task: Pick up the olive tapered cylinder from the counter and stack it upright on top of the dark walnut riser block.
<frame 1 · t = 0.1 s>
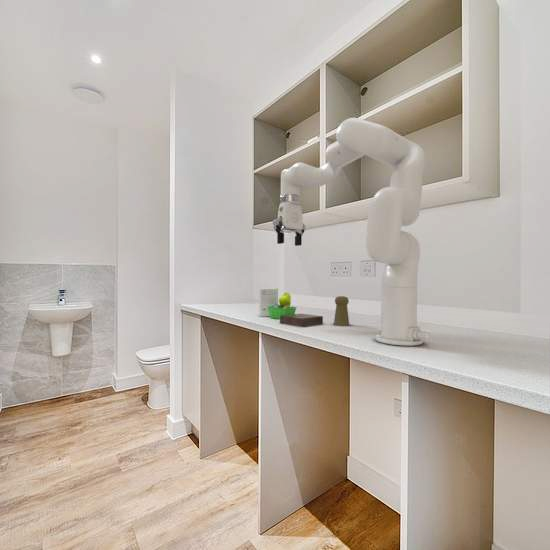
hand: (289, 244, 123), 31 cm above the worktop, tool pointing down, fingers open, 9 cm apart
small box: (268, 316, 147), on the worktop
riser: (301, 323, 123), on the worktop
olive tapered cylinder: (341, 325, 121), on the worktop
fruit basket: (282, 318, 138), on the worktop
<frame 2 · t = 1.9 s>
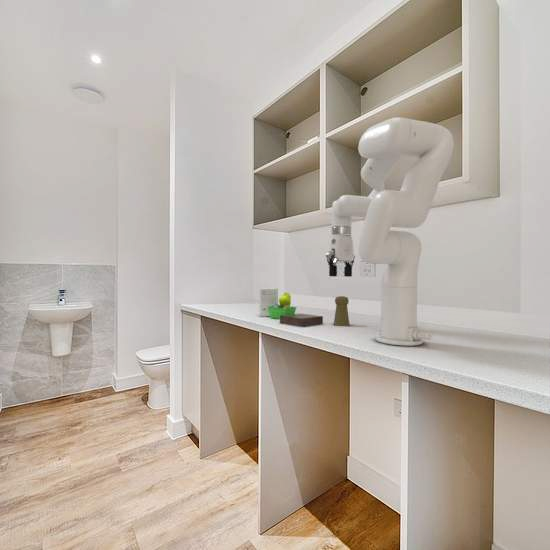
hand: (340, 276, 121), 19 cm above the worktop, tool pointing down, fingers open, 9 cm apart
nothing on the worktop moved.
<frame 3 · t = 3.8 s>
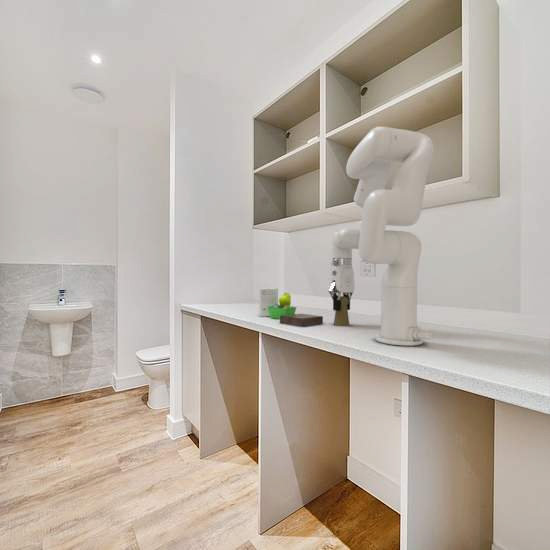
hand: (341, 309, 121), 6 cm above the worktop, tool pointing down, fingers closed on olive tapered cylinder, 5 cm apart
olive tapered cylinder: (341, 325, 121), on the worktop, touching gripper
everything else where it was.
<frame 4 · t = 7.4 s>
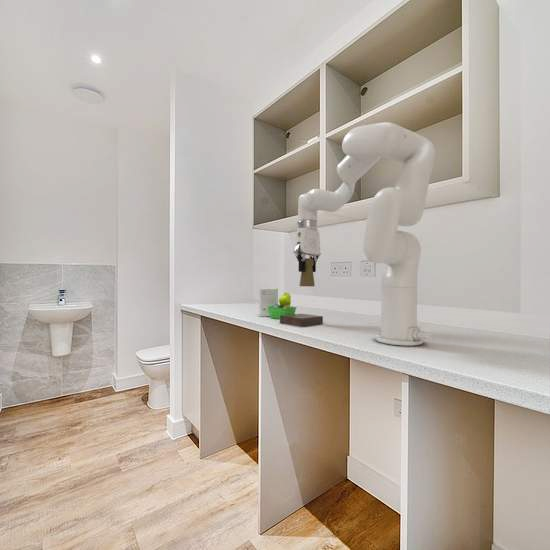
hand: (307, 271, 123), 21 cm above the worktop, tool pointing down, fingers closed on olive tapered cylinder, 5 cm apart
olive tapered cylinder: (307, 286, 123), point 15 cm above the worktop, touching gripper
everything else where it was.
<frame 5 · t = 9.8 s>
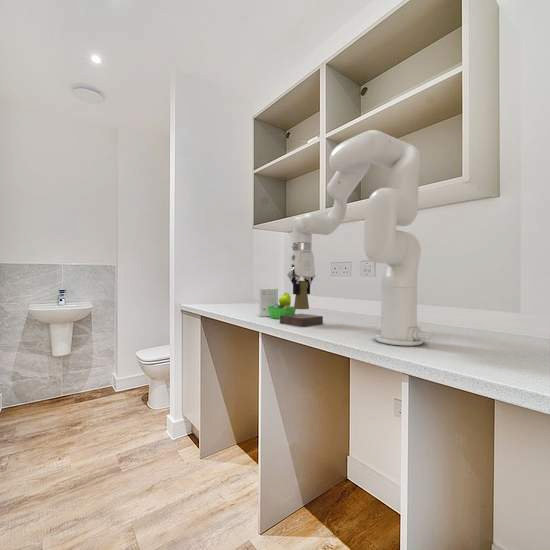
hand: (301, 293, 123), 12 cm above the worktop, tool pointing down, fingers closed on olive tapered cylinder, 5 cm apart
olive tapered cylinder: (301, 309, 123), point 6 cm above the worktop, touching gripper
everything else where it was.
when the fingers open (9 cm above the worktop, at t = 11.1 s): olive tapered cylinder stays where it is, resting on riser.
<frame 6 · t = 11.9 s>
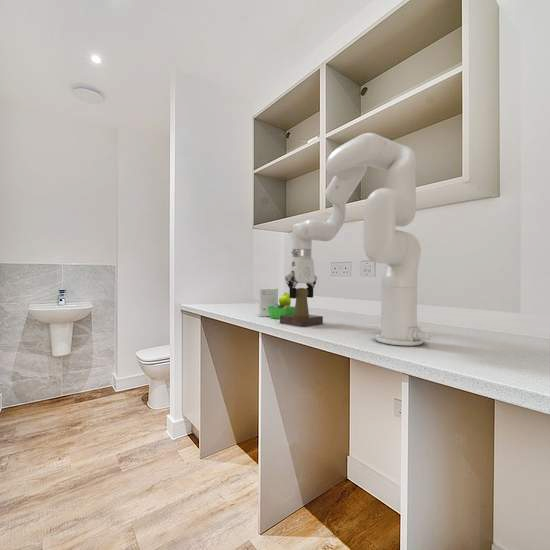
hand: (301, 297, 123), 10 cm above the worktop, tool pointing down, fingers open, 9 cm apart
olive tapered cylinder: (301, 316, 123), point 3 cm above the worktop, touching riser
everything else where it was.
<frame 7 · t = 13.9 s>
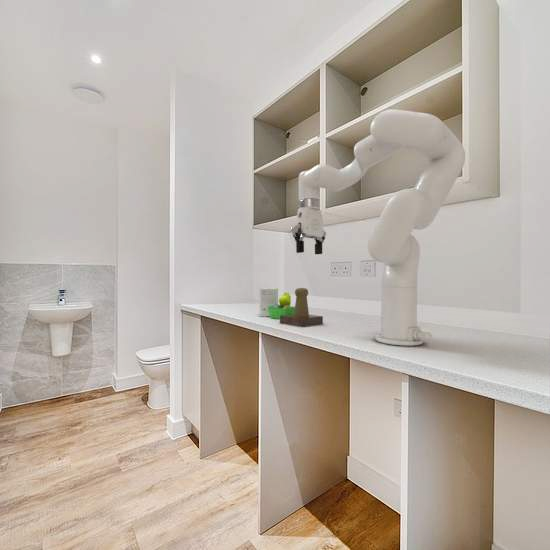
hand: (309, 253, 112), 27 cm above the worktop, tool pointing down, fingers open, 9 cm apart
nothing on the worktop moved.
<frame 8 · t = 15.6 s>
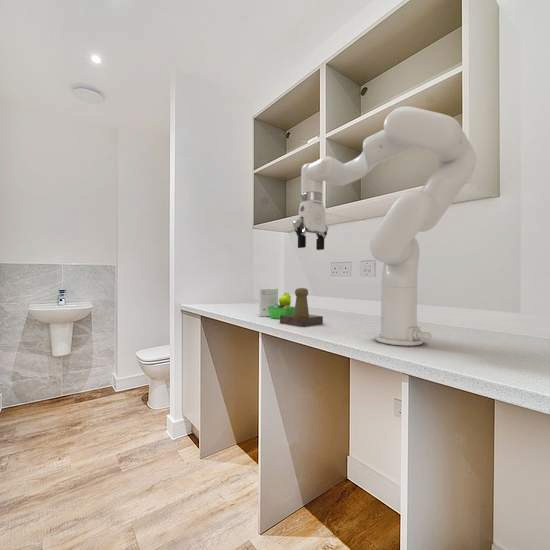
hand: (311, 248, 109), 28 cm above the worktop, tool pointing down, fingers open, 9 cm apart
nothing on the worktop moved.
at the end: olive tapered cylinder 0.0 cm off-centre on the riser, point 2.8 cm above the riser's base; olive tapered cylinder tilted 0° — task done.
